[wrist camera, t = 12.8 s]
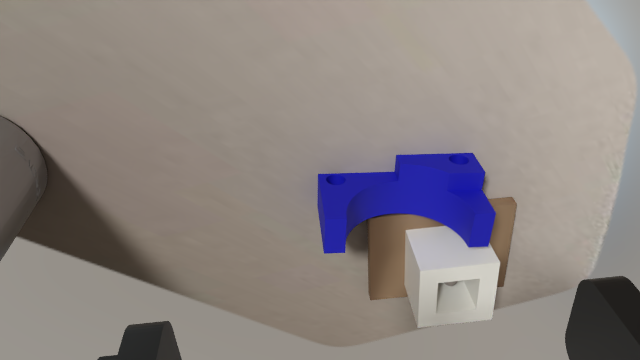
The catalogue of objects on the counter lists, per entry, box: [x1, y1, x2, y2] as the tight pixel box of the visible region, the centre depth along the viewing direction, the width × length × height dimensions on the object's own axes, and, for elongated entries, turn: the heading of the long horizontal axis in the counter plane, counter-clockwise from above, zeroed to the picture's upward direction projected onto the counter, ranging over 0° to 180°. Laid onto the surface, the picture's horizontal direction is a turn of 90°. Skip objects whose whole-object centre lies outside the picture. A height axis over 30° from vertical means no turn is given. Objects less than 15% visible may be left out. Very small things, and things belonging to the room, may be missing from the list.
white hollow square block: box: [404, 226, 500, 328], centre depth 44 cm, size 6×6×5 cm
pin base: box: [367, 197, 517, 300], centre depth 45 cm, size 12×9×5 cm
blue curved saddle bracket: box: [318, 153, 496, 253], centre depth 40 cm, size 12×4×6 cm, turn 89°
